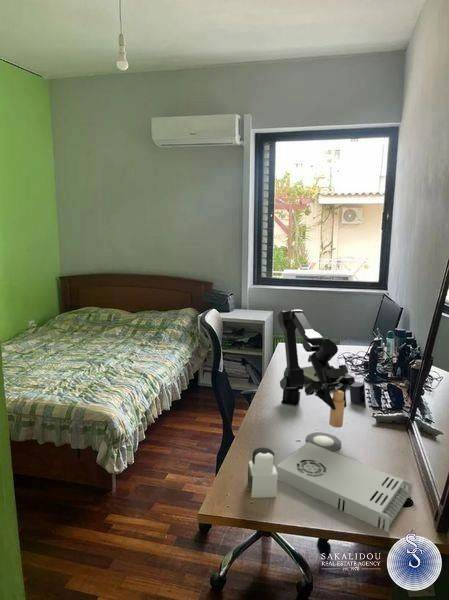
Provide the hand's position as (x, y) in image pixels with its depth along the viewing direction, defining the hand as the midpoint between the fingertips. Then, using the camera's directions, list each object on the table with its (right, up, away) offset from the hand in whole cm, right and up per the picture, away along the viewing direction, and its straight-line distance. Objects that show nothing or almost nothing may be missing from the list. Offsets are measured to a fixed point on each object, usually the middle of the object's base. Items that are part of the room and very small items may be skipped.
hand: (340, 408), depth 146 cm
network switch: (+8, -3, +59) cm, 60 cm away
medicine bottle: (-29, -17, -26) cm, 42 cm away
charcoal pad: (-5, -12, +2) cm, 14 cm away
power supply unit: (-6, -18, -23) cm, 30 cm away
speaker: (+17, -7, +35) cm, 40 cm away
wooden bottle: (-1, -6, +2) cm, 7 cm away
